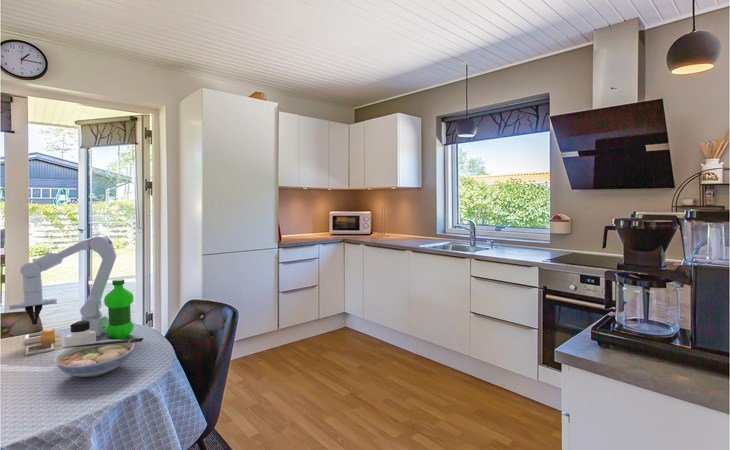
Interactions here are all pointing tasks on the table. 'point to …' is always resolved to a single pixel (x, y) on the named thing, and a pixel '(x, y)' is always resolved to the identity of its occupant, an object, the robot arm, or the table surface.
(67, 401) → the table surface
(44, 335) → the cap
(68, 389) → the table surface
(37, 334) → the button
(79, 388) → the table surface
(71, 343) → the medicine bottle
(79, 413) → the table surface
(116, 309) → the plastic bottle
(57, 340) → the tan flat plate
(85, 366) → the ramen bowl
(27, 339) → the frame
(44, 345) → the grey square frame
